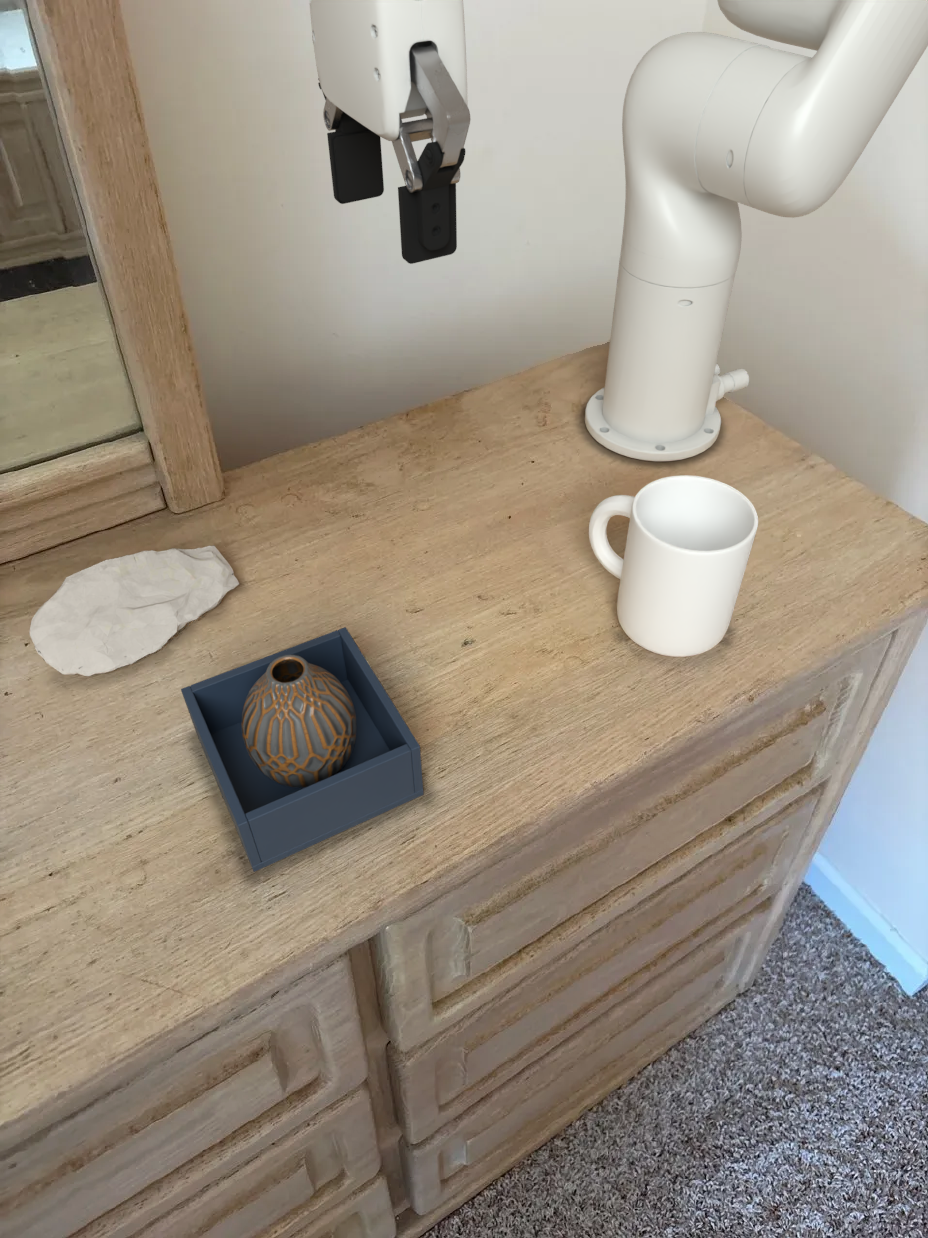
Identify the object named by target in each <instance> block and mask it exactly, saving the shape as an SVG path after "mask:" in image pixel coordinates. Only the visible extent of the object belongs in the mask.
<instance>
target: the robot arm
mask: <svg viewBox="0 0 928 1238" xmlns="http://www.w3.org/2000/svg"><path fill="white" fill-rule="evenodd" d="M717 5H718V8H719V10H720V11H721V13H722V14H723V16H724V17H725V18H726V20H727V21H728V22H729V23H730V24H732V25H733V26H735V27H736V28H738V29H740V30H741V31H744V32H746V33H749V34H752V35H753V36H756V37H760V38H763V39H766V40H770V41H773V42H778V43H782V44H784V45H789V46H794V47H799V48H802V49H806V50H812V51H816V52H815V54H814V55H813V56H812V57H811V56H806V55H803V54H799V53H794V52H790V51H786V50H782V49H777V48H773V47H771V46H768V45H766V44H762V43H759V42H758V43H757V42H753V41H749V40H744V39H740V38H736V37H732V36H727V35H723V34H719V33H713V32H707V31H687V32H681V33H677V34H672V35H670V36H668V37H665V38H664V39H662V40H660V41H658V42H657V43H656V44H655V45H653V46H652V47H651V48H650V49H648V51H646V53H644V55H643V56H642V57H641V59H640V60H639V61H638V63H637V64H636V66H635V68H634V70H633V72H632V74H631V75H630V78H629V81H628V84H627V87H626V91H625V94H624V100H623V105H622V116H621V117H622V119H621V131H622V133H621V134H622V147H623V149H622V150H623V161H624V177H625V179H624V180H625V200H624V215H623V227H622V238H621V245H620V246H621V247H620V255H619V256H620V257H619V260H618V270H617V278H616V286H615V295H614V296H615V297H614V305H613V312H612V321H611V329H610V338H609V345H608V353H607V355H608V356H607V365H606V372H605V382H604V387H602V388H601V389H599V390H597V391H596V392H595V393H594V394H592V396H591V397H590V398H589V399H588V401H587V403H586V406H585V410H584V411H585V412H584V423H585V427H586V429H587V431H588V433H589V435H590V436H591V437H592V438H593V439H594V440H595V441H596V442H597V443H598V444H600V445H602V446H603V447H604V448H606V449H607V450H610V451H612V452H614V453H615V454H619V455H621V456H625V457H627V458H630V459H631V458H632V459H635V460H640V461H647V462H648V461H649V462H674V461H681V460H685V459H688V458H692V457H695V456H697V455H699V454H702V453H703V452H705V451H707V450H709V448H711V447H712V446H713V445H714V443H715V442H716V441H717V439H718V437H719V435H720V430H721V426H722V418H721V413H720V411H719V409H718V407H717V406H716V403H717V402H718V401H720V400H722V399H723V398H724V396H725V394H731V393H735V392H737V391H740V390H743V389H746V388H747V387H748V386H749V384H750V375H749V373H748V371H747V370H746V369H744V368H736V369H733V370H730V371H727V372H725V373H723V374H721V368H720V365H719V364H718V357H719V352H720V347H721V343H722V338H723V333H724V329H725V324H726V320H727V315H728V309H729V304H730V300H731V295H732V292H733V287H734V281H735V276H736V272H737V271H738V266H739V260H740V254H741V249H742V238H743V237H742V236H743V235H742V233H743V232H742V219H741V212H740V207H739V204H741V205H744V206H747V207H749V208H753V209H754V210H755V209H756V210H758V211H761V212H764V213H767V214H770V215H773V216H777V217H781V218H782V217H783V218H792V219H793V218H794V219H795V218H800V217H804V216H807V215H809V214H812V213H813V212H815V211H817V210H818V209H820V208H821V207H822V206H824V205H825V204H826V203H827V202H828V201H829V200H830V199H831V198H832V197H833V196H834V194H835V193H836V192H837V191H838V190H839V188H840V187H841V186H842V184H843V183H844V181H845V180H846V178H847V177H848V176H849V174H850V173H851V171H852V170H853V169H854V166H855V165H856V164H857V162H858V160H859V159H860V157H861V155H862V154H863V152H864V151H865V149H866V147H867V145H868V144H869V143H870V141H871V139H872V137H873V136H874V134H875V133H876V131H877V129H878V128H879V126H880V125H881V123H882V121H883V119H884V118H885V116H886V114H887V113H888V112H889V110H890V108H891V106H892V105H893V103H894V102H895V100H896V98H897V97H898V96H899V93H901V91H902V89H903V87H904V86H905V84H906V82H907V81H908V79H909V77H910V76H911V74H912V73H913V71H914V69H915V68H916V66H917V65H918V63H919V61H920V60H921V58H922V56H923V54H924V53H925V51H926V49H927V48H928V0H717ZM464 8H465V7H464V0H309V12H310V13H309V15H310V21H311V22H310V24H311V34H312V45H313V52H314V59H315V64H316V65H315V66H316V70H317V76H318V77H317V78H318V79H317V80H318V81H319V82H318V83H317V84H318V87H319V89H320V90H321V92H322V94H323V98H324V100H325V101H324V102H325V103H324V105H323V106H324V107H323V111H322V112H323V115H322V117H323V121H324V125H325V128H326V129H327V130H328V131H329V132H327V134H326V135H327V144H328V153H329V163H330V172H331V182H332V183H331V184H332V191H333V198H334V200H335V201H336V202H338V203H339V204H341V205H344V204H349V203H354V202H355V203H356V202H360V201H364V200H368V199H373V198H379V197H381V196H382V195H383V194H384V192H385V186H384V185H385V184H384V172H383V170H384V169H383V156H382V141H381V140H382V139H383V140H386V141H388V142H391V143H392V147H393V150H394V153H395V156H396V159H397V163H398V165H399V166H398V167H399V169H400V172H401V175H402V179H403V181H404V184H405V185H401V186H398V187H397V191H398V192H397V196H398V212H399V230H400V247H401V257H402V259H403V260H404V261H405V262H406V263H408V264H410V265H413V264H417V263H422V262H425V261H431V260H433V259H438V258H443V257H447V256H450V255H453V254H455V253H456V250H457V248H458V247H457V246H458V245H457V244H458V242H457V241H458V237H457V236H458V234H457V233H458V231H457V184H458V183H459V182H460V181H461V166H462V165H463V163H464V161H465V157H466V148H465V144H466V141H467V138H468V137H467V136H468V133H469V129H470V125H471V112H470V109H469V106H468V101H469V100H468V69H467V67H468V66H467V45H466V42H467V41H466V26H465V11H464V10H465V9H464ZM424 115H425V116H426V118H421V119H416V120H415V119H414V120H410V121H405V122H403V120H404V119H410V118H415V117H416V118H417V117H421V116H424ZM331 131H332V132H331ZM429 139H430V140H431V141H430V142H427V143H426V144H425V146H424V148H423V150H422V152H421V154H420V156H419V157H418V158H417V155H416V151H415V149H414V146H413V142H418V141H424V140H425V141H426V140H429ZM720 374H721V375H720Z"/></svg>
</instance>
